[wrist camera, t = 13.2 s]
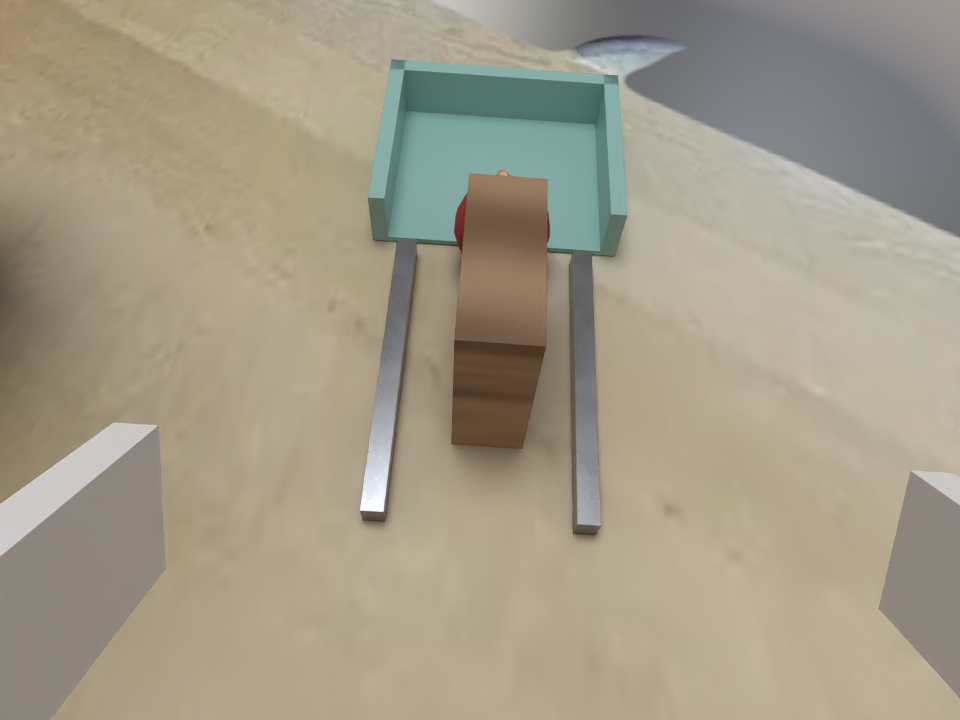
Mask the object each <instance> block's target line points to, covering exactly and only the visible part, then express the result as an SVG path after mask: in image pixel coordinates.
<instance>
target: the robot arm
mask: <svg viewBox="0 0 960 720" xmlns="http://www.w3.org/2000/svg"><path fill="white" fill-rule="evenodd" d="M164 570H165V551H164V530H163V508H162V487H161V466H160V445H159V425H145V424H128V423H112V424H111V425H110V426H108V427H107V428H105V429H104V430H103V431H101V432H100V433H98V434H97V435H96V436H94V437H93V438H91V439H90V440H89V441H87V442H86V443H84V444H83V445H82V446H80V447H79V448H78V449H76V450H75V451H73V452H72V453H71V454H69V455H68V456H66V457H65V458H64V459H62V460H61V461H59V462H58V463H57V464H55V465H54V466H52V467H51V468H50V469H48V470H47V471H45V472H44V473H43V474H41V475H40V476H39V477H37V478H36V479H34V480H33V481H32V482H30V483H29V484H27V485H26V486H25V487H23V488H22V489H20V490H19V491H18V492H16V493H15V494H13V495H12V496H11V497H9V498H8V499H6V500H5V501H4V502H2V503H1V504H0V720H50V719H51V718H52V716H53V715H54V714H55V712H56V711H57V710H58V708H59V707H60V706H61V704H62V703H63V702H64V701H65V699H66V698H67V697H68V695H69V694H70V693H71V691H72V690H73V689H74V687H75V686H76V685H77V684H78V682H79V681H80V680H81V678H82V677H83V676H84V674H85V673H86V672H87V670H88V669H89V668H90V666H91V665H92V664H93V663H94V661H95V660H96V659H97V657H98V656H99V655H100V653H101V652H102V651H103V649H104V648H105V647H106V646H107V644H108V643H109V642H110V640H111V639H112V638H113V636H114V635H115V634H116V632H117V631H118V630H119V629H120V627H121V626H122V625H123V623H124V622H125V621H126V619H127V618H128V617H129V615H130V614H131V613H132V612H133V610H134V609H135V608H136V606H137V605H138V604H139V602H140V601H141V600H142V598H143V597H144V596H145V595H146V593H147V592H148V591H149V589H150V588H151V587H152V585H153V584H154V583H155V581H156V580H157V579H158V577H159V576H160V575H161V574H162V572H163V571H164ZM879 609H880V610H881V611H882V613H883V614H884V615H885V616H886V617H887V618H888V619H889V620H890V621H891V623H892V624H893V625H894V626H895V627H896V628H897V629H898V630H899V631H900V632H901V634H902V635H903V636H904V637H905V638H906V639H907V640H908V641H909V642H910V644H911V645H912V646H913V647H914V648H915V649H916V650H917V651H918V652H919V653H920V655H921V656H922V657H923V658H924V659H925V660H926V661H927V662H928V663H929V664H930V666H931V667H932V668H933V669H934V670H935V671H936V672H937V673H938V674H939V676H940V677H941V678H942V679H943V680H944V681H945V682H946V683H947V684H948V685H949V687H950V688H951V689H952V690H953V691H954V692H955V693H956V694H957V695H958V696H959V698H960V477H959V476H957V475H955V474H954V473H942V472H925V471H910V476H909V480H908V484H907V489H906V493H905V497H904V501H903V506H902V510H901V514H900V519H899V523H898V527H897V532H896V536H895V540H894V544H893V549H892V553H891V557H890V562H889V566H888V570H887V575H886V579H885V583H884V588H883V592H882V596H881V600H880V605H879Z"/></svg>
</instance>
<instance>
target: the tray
mask: <svg viewBox="0 0 960 720" xmlns="http://www.w3.org/2000/svg"><path fill="white" fill-rule="evenodd" d="M499 170H505V171H506V172H507V173H508V174H509V175H511V176H516V177H529V178H543V179H548V213H549V221H550V238H549V240H548V243H547V252H561V253H572V252H573V250H577V251H591V252H592V255H605V256H614V255H615V252H616V249H617V246H618V243H619V240H620V237H621V233H622V230H623V227H624V224H625V221H626V218H627V204H626V189H625V174H624V159H623V144H622V129H621V114H620V100H619V85H618V76H617V75H603V74H589V73H575V72H561V71H547V70H533V69H519V68H505V67H491V66H477V65H463V64H449V63H435V62H421V61H407V60H393V59H391V65H390V71H389V77H388V83H387V89H386V94H385V100H384V106H383V112H382V118H381V124H380V130H379V135H378V141H377V147H376V153H375V159H374V165H373V171H372V176H371V182H370V188H369V194H368V202H369V210H370V219H371V227H372V235H373V240H386V241H397V239H398V238H401V239H416V242H417V243H430V244H444V245H458V243H457V241H456V238H455V234H454V226H455V216H456V212H457V208H458V207H459V205H460V203H461V201H462V200H463V198H464V196H465V195H466V193H467V191H468V180H469V173H475V174H489V175H497V173H498V172H499Z"/></svg>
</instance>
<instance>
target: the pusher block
mask: <svg viewBox="0 0 960 720" xmlns="http://www.w3.org/2000/svg"><path fill="white" fill-rule="evenodd" d="M547 212H548V179H543V178H529V177H516V176H502V175H489V174H475V173H469V180H468V191H467V203H466V214H465V226H464V237H463V249H462V260H461V272H460V283H459V295H458V306H457V318H456V329H455V342H454V375H453V408H452V441H451V444H462V445H476V446H491V447H505V448H519V449H522V447H523V443H524V438H525V434H526V430H527V425H528V421H529V417H530V413H531V408H532V404H533V400H534V395H535V391H536V387H537V382H538V378H539V374H540V370H541V365H542V361H543V357H544V352H545V348H546V294H547Z"/></svg>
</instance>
